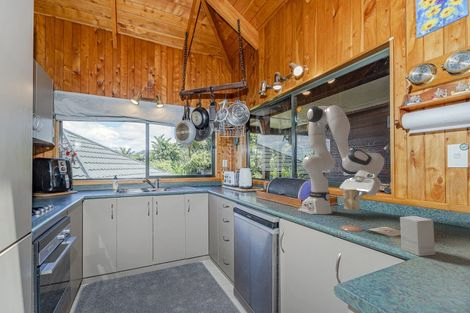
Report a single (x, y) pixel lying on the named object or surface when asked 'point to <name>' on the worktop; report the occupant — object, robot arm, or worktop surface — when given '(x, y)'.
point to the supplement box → (417, 235)
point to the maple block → (350, 199)
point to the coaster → (352, 228)
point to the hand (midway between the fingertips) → (350, 199)
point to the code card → (387, 231)
